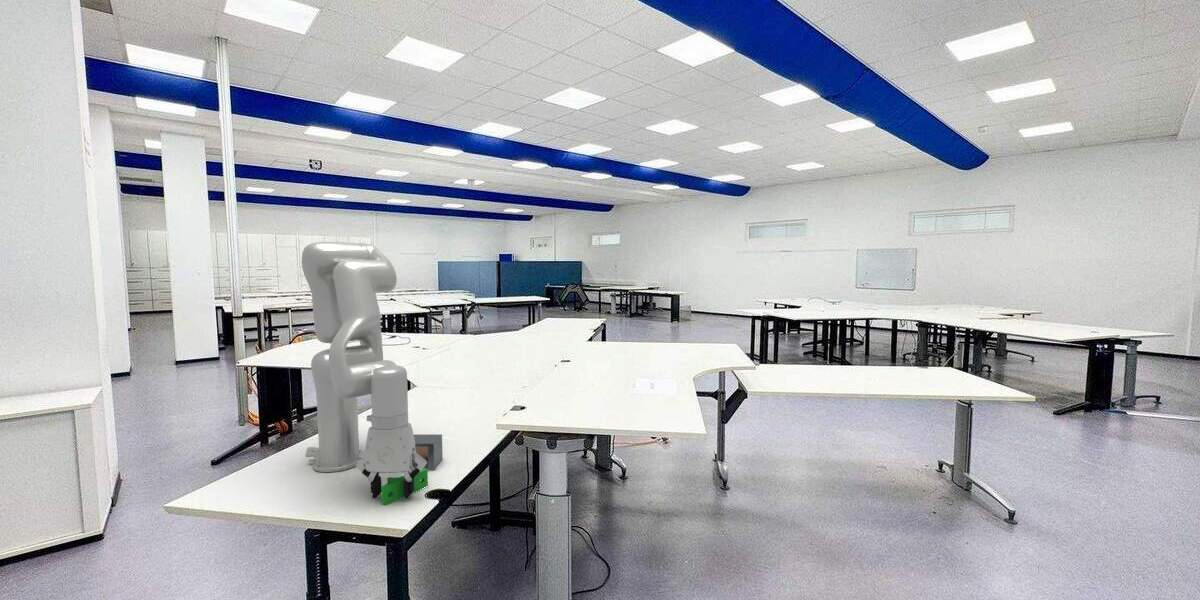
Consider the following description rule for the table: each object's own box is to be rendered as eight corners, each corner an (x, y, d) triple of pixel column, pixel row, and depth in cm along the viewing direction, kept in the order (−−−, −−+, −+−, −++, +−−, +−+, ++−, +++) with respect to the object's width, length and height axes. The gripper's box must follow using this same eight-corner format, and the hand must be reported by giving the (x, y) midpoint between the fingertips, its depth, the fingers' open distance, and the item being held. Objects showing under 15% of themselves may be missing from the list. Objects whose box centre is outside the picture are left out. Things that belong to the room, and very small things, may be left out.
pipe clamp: (418, 483, 114) (418, 465, 114) (428, 487, 112) (427, 469, 112) (375, 502, 105) (374, 482, 105) (384, 506, 103) (383, 486, 103)
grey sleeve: (377, 470, 121) (376, 443, 120) (388, 460, 128) (387, 434, 127) (434, 470, 121) (433, 443, 121) (442, 460, 128) (442, 434, 127)
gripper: (343, 426, 102) (346, 504, 103) (422, 425, 102) (424, 504, 103) (360, 415, 109) (363, 488, 110) (434, 415, 109) (435, 488, 110)
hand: (392, 495), depth 107 cm, fingers open, 6 cm apart
